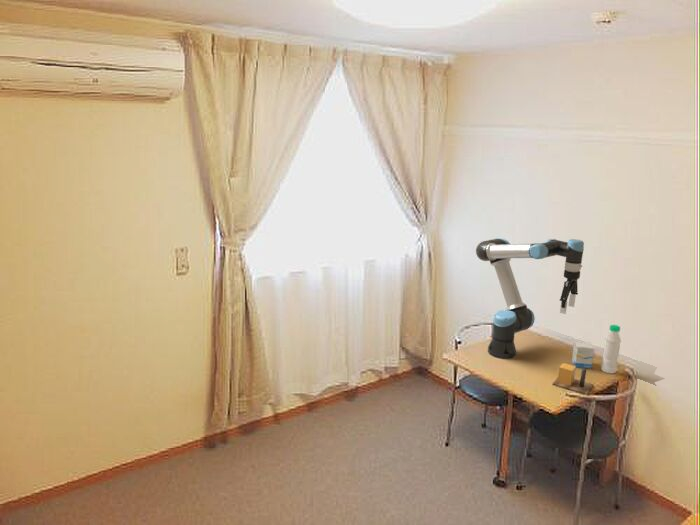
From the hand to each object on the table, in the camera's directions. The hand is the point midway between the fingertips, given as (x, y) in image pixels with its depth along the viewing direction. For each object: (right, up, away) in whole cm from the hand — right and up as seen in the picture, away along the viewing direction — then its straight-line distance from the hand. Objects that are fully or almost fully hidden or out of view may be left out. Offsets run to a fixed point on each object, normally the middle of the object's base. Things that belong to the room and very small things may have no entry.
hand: (567, 309), depth 268 cm
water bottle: (+22, -32, +2) cm, 39 cm away
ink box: (+11, -30, +9) cm, 34 cm away
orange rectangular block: (-5, -34, -11) cm, 37 cm away
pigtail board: (-3, -36, -13) cm, 38 cm away
